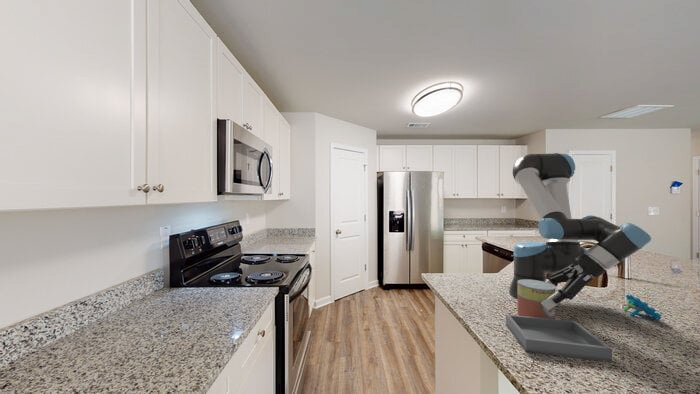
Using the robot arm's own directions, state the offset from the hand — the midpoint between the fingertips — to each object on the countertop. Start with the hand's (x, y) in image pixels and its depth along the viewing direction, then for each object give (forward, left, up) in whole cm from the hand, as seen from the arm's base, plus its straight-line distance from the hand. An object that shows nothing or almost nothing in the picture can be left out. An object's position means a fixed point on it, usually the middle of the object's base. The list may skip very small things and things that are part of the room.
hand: (540, 299), depth 93 cm
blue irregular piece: (-11, +37, -7) cm, 39 cm away
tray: (+16, -3, -7) cm, 17 cm away
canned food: (-1, -1, -7) cm, 7 cm away
